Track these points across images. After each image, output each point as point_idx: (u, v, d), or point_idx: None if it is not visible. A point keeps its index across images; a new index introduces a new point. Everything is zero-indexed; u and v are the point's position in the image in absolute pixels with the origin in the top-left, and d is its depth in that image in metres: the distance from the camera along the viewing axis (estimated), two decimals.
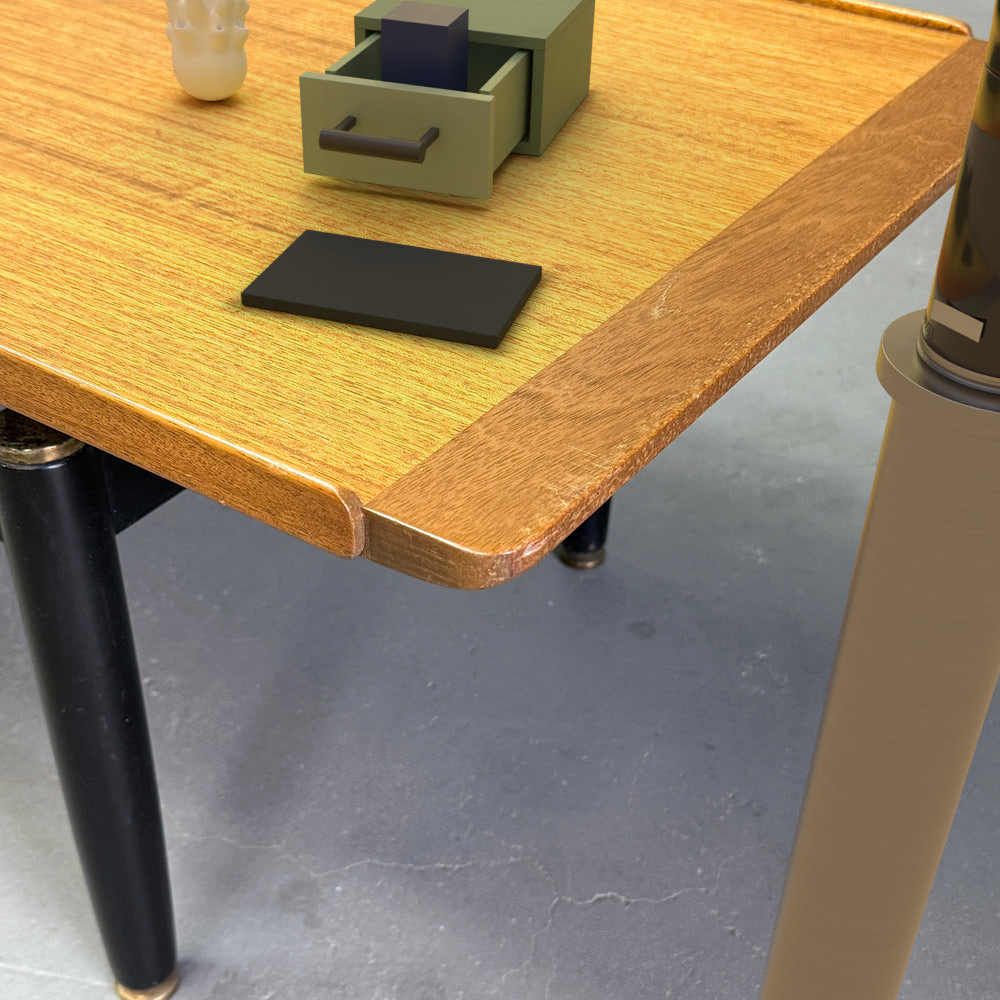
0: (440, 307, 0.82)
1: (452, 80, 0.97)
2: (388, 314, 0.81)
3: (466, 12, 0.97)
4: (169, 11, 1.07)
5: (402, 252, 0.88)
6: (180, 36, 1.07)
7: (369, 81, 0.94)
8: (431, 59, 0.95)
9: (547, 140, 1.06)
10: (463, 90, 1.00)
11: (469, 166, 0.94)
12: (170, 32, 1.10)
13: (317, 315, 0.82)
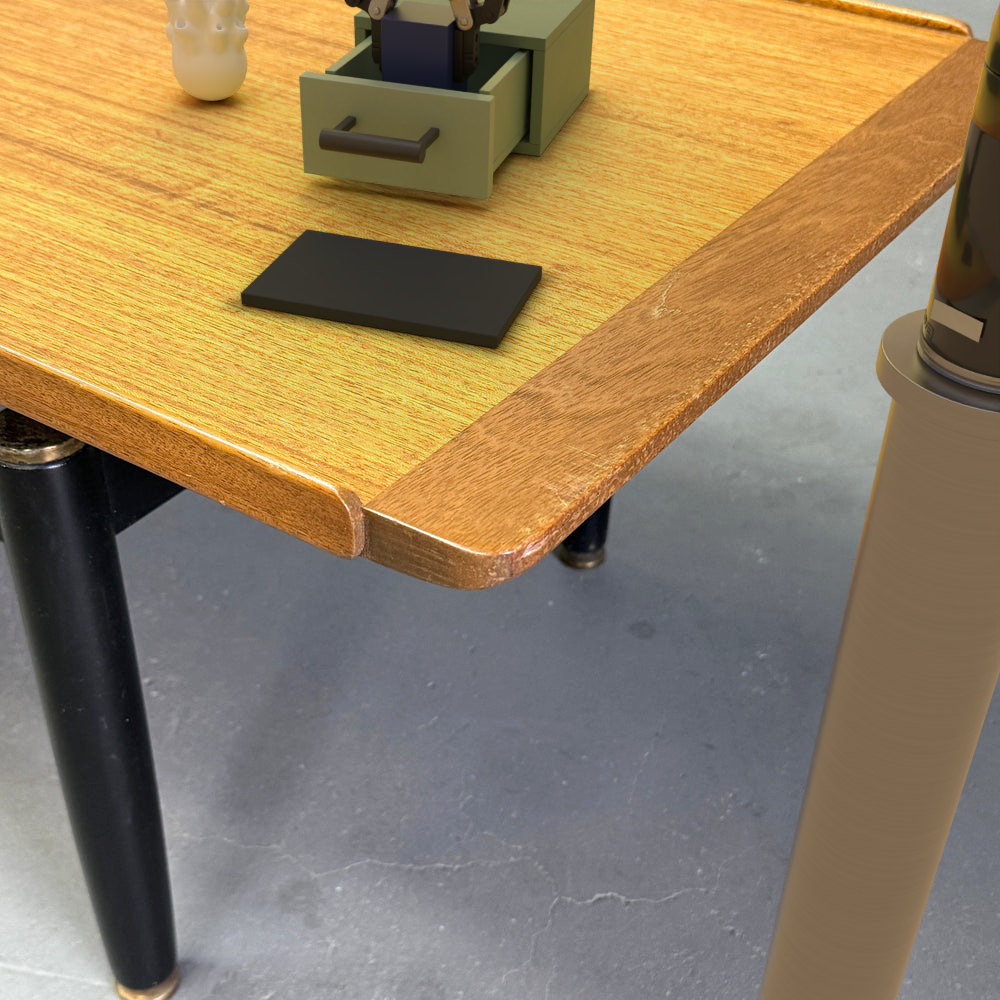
0: (440, 307, 0.82)
1: (452, 80, 0.97)
2: (388, 314, 0.81)
3: None
4: (169, 11, 1.07)
5: (402, 252, 0.88)
6: (180, 36, 1.07)
7: (369, 81, 0.94)
8: (431, 58, 0.95)
9: (547, 140, 1.06)
10: (463, 90, 1.00)
11: (469, 166, 0.94)
12: (170, 32, 1.10)
13: (317, 315, 0.82)
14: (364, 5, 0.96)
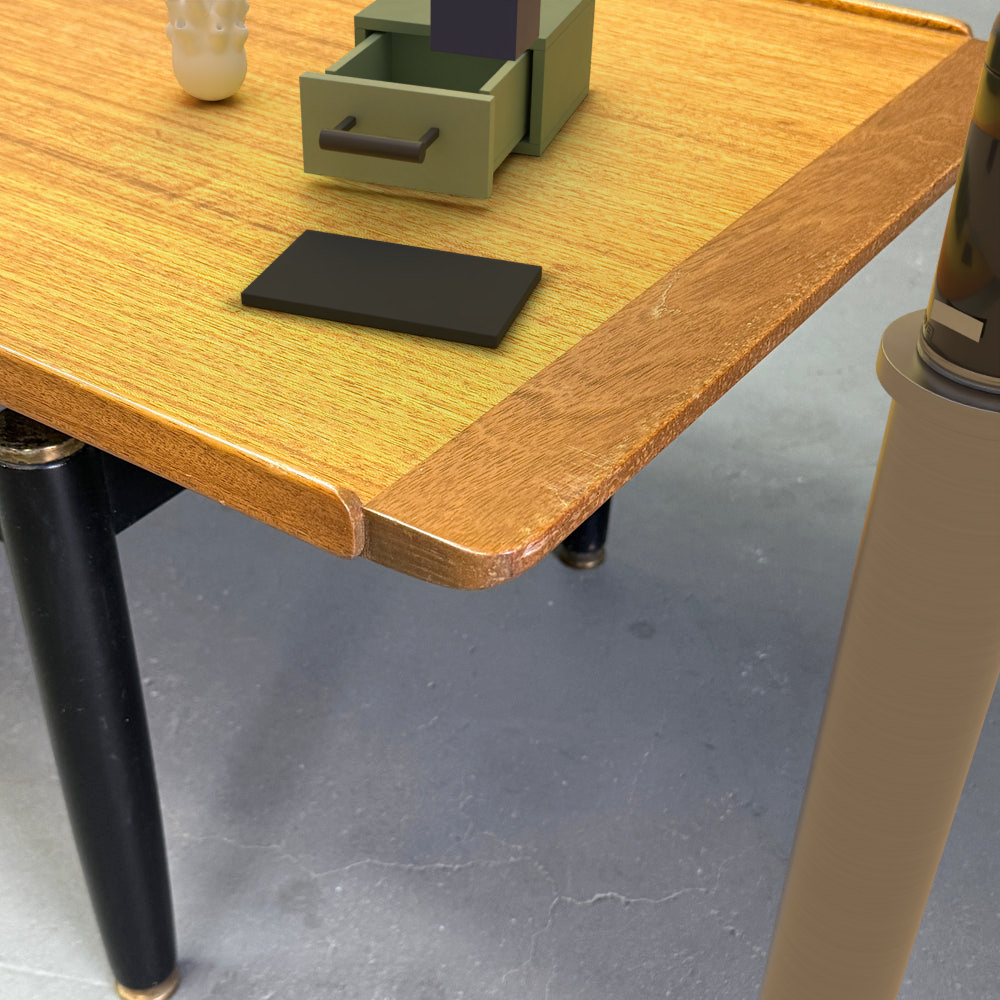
0: (440, 307, 0.82)
1: None
2: (388, 314, 0.81)
3: None
4: (169, 11, 1.07)
5: (402, 252, 0.88)
6: (180, 36, 1.07)
7: (369, 81, 0.94)
8: None
9: (547, 140, 1.06)
10: None
11: (469, 166, 0.94)
12: (170, 32, 1.10)
13: (317, 315, 0.82)
14: None
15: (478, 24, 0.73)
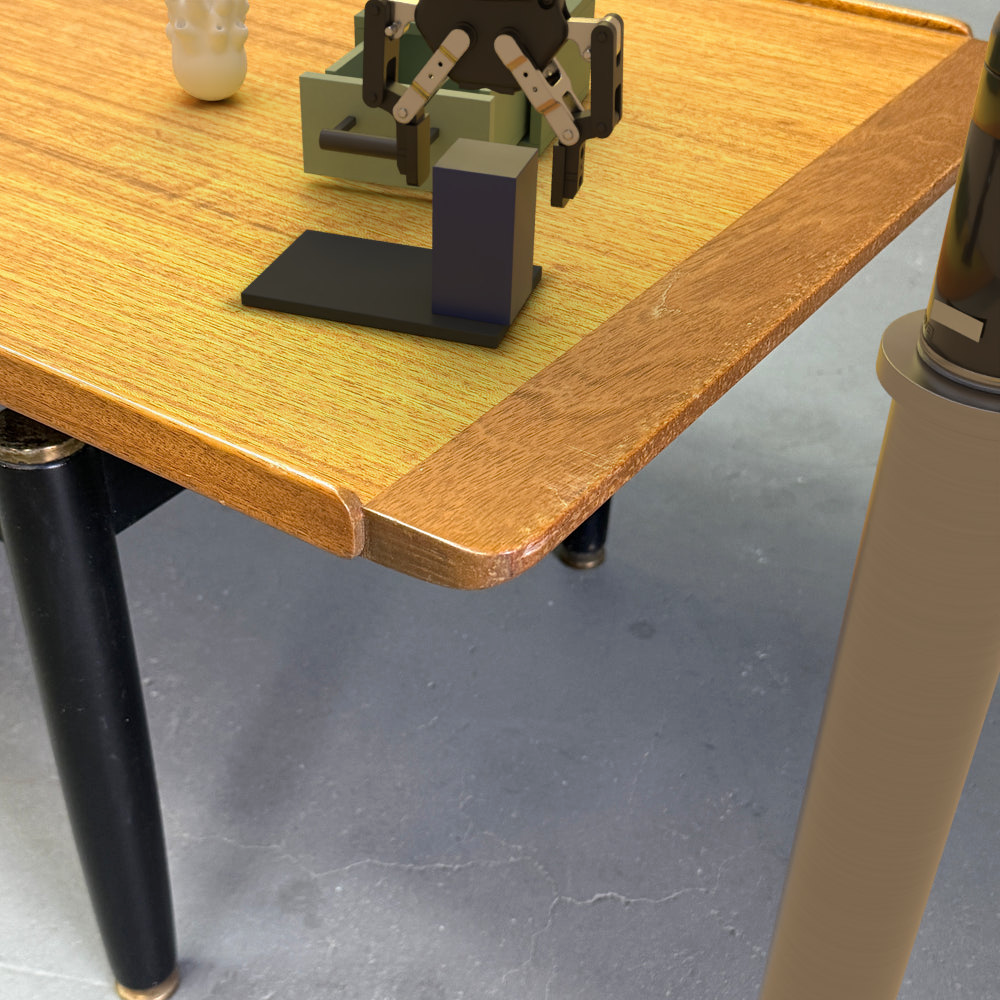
0: None
1: (519, 238, 0.79)
2: (388, 314, 0.81)
3: (536, 154, 0.79)
4: (169, 11, 1.07)
5: (402, 252, 0.88)
6: (180, 36, 1.07)
7: None
8: (494, 215, 0.77)
9: (547, 140, 1.06)
10: (530, 245, 0.81)
11: None
12: (170, 32, 1.10)
13: (317, 315, 0.82)
14: (387, 105, 0.77)
15: (476, 293, 0.80)
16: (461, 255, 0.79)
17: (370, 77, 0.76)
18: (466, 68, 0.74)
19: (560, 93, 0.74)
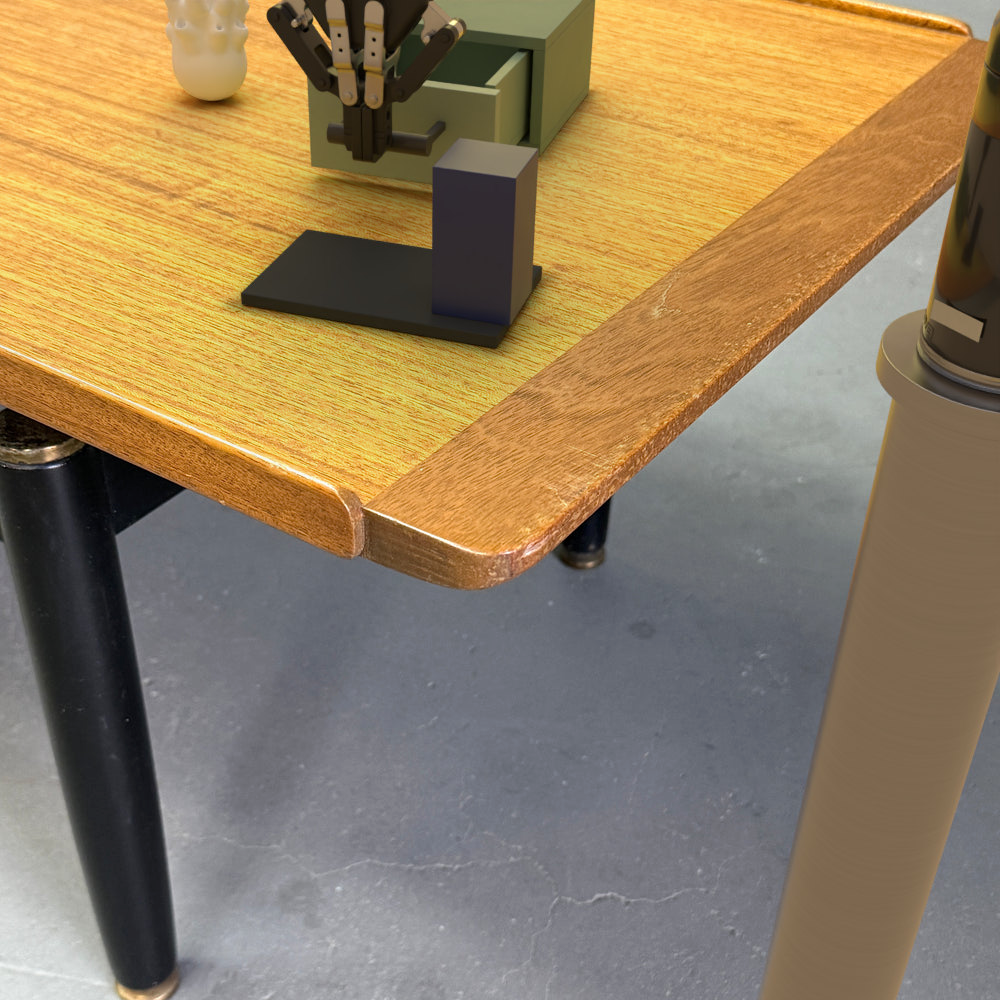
0: None
1: (519, 238, 0.79)
2: (388, 314, 0.81)
3: (536, 154, 0.79)
4: (169, 11, 1.07)
5: (402, 252, 0.88)
6: (180, 36, 1.07)
7: None
8: (494, 215, 0.77)
9: (547, 140, 1.06)
10: (530, 245, 0.81)
11: None
12: (170, 32, 1.10)
13: (317, 315, 0.82)
14: (335, 89, 0.88)
15: (476, 293, 0.80)
16: (461, 255, 0.79)
17: (309, 68, 0.88)
18: None
19: (388, 67, 0.87)
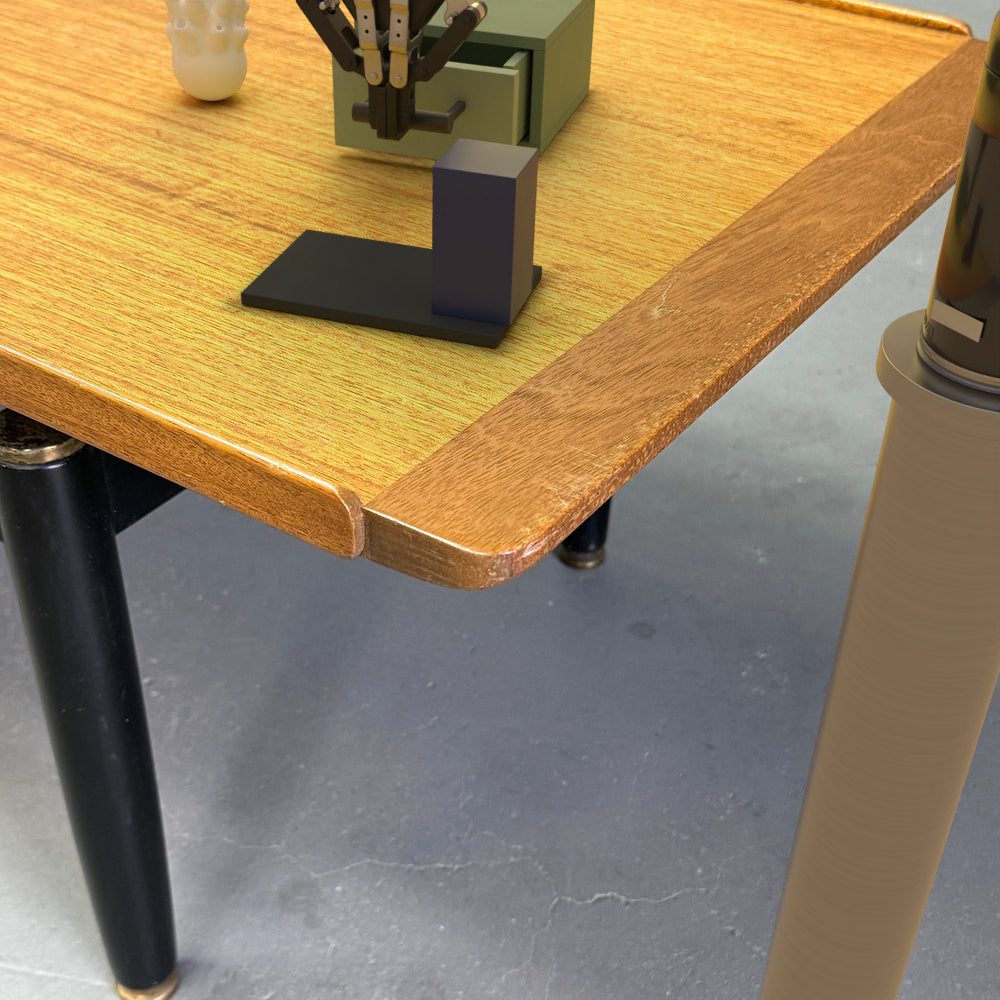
0: None
1: (519, 238, 0.79)
2: (388, 314, 0.81)
3: (536, 154, 0.79)
4: (169, 11, 1.07)
5: (402, 252, 0.88)
6: (180, 36, 1.07)
7: None
8: (494, 215, 0.77)
9: (547, 140, 1.06)
10: (530, 245, 0.81)
11: (494, 138, 0.99)
12: (170, 33, 1.10)
13: (317, 315, 0.82)
14: (361, 69, 0.92)
15: (476, 293, 0.80)
16: (461, 255, 0.79)
17: (336, 49, 0.91)
18: None
19: (412, 47, 0.90)
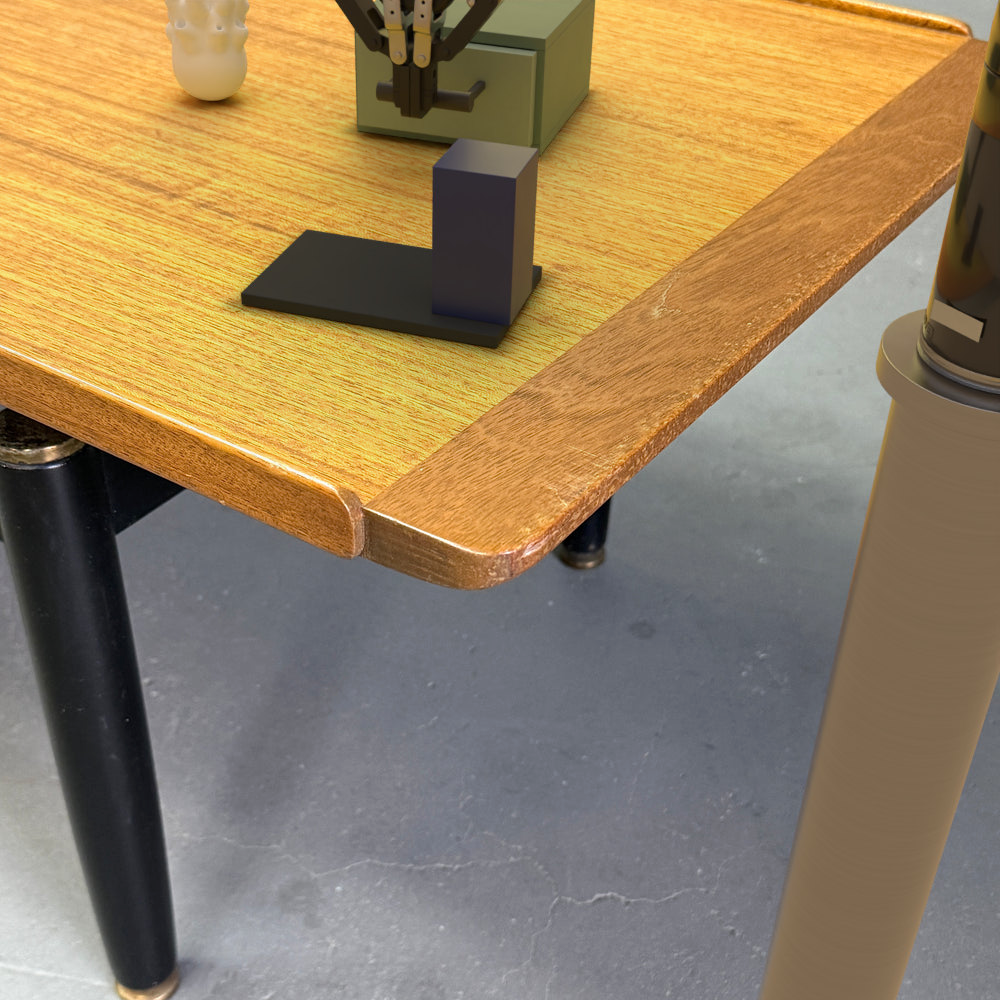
0: None
1: (519, 238, 0.79)
2: (388, 314, 0.81)
3: (536, 154, 0.79)
4: (169, 11, 1.07)
5: (402, 252, 0.88)
6: (180, 36, 1.07)
7: None
8: (494, 215, 0.77)
9: (547, 140, 1.06)
10: (530, 245, 0.81)
11: (512, 117, 1.03)
12: (170, 32, 1.10)
13: (317, 315, 0.82)
14: (385, 49, 0.96)
15: (476, 293, 0.80)
16: (461, 255, 0.79)
17: (362, 30, 0.95)
18: None
19: (435, 28, 0.94)
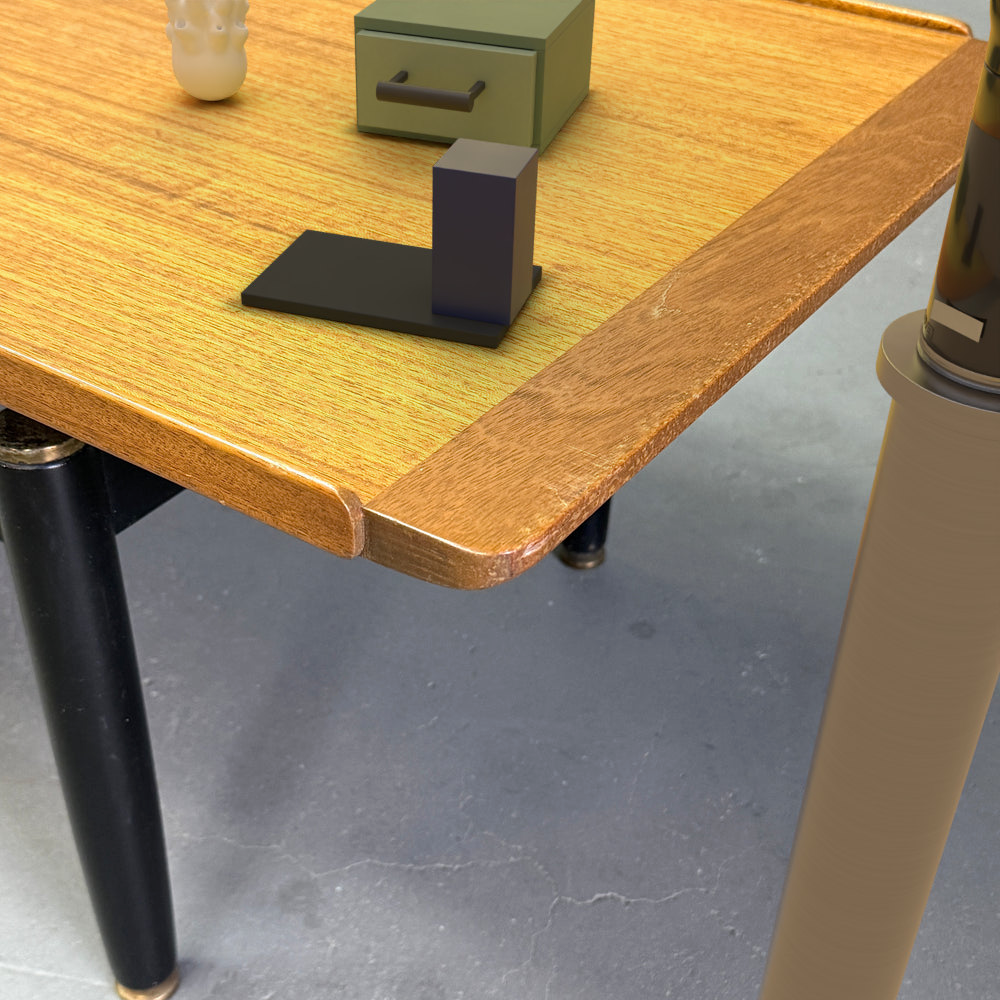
0: None
1: (519, 238, 0.79)
2: (388, 314, 0.81)
3: (536, 154, 0.79)
4: (169, 11, 1.07)
5: (402, 252, 0.88)
6: (180, 36, 1.07)
7: (420, 38, 1.02)
8: (494, 215, 0.77)
9: (547, 140, 1.06)
10: (530, 245, 0.81)
11: (512, 117, 1.03)
12: (170, 32, 1.10)
13: (317, 315, 0.82)
14: None
15: (476, 293, 0.80)
16: (461, 255, 0.79)
17: None
18: None
19: None
